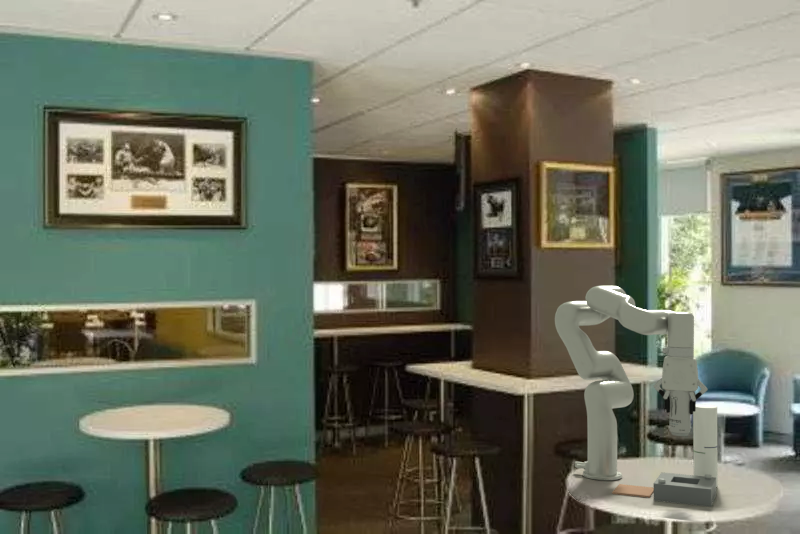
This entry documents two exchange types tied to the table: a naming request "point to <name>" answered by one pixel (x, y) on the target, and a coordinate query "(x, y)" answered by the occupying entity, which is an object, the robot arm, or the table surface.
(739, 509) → the table surface
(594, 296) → the robot arm
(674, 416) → the energy drink can
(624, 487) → the coaster
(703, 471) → the cylindrical container
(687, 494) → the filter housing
